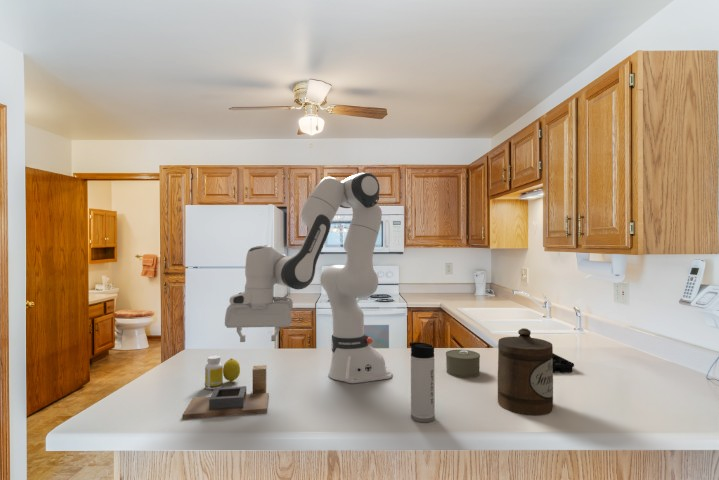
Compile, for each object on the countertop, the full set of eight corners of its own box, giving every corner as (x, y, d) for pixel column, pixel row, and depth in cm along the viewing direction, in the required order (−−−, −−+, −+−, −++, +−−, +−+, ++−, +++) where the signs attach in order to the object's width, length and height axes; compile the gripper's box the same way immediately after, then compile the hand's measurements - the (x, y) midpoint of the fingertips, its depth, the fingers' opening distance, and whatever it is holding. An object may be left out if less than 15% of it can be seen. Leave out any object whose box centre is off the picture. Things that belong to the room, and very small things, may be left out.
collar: (246, 396, 122) (246, 386, 122) (243, 408, 113) (243, 397, 113) (214, 398, 120) (214, 388, 120) (209, 410, 111) (209, 399, 112)
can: (443, 375, 144) (442, 356, 144) (448, 366, 155) (448, 348, 155) (478, 380, 140) (478, 359, 140) (481, 370, 151) (481, 351, 151)
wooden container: (549, 420, 108) (548, 336, 108) (492, 408, 115) (491, 330, 116) (556, 401, 120) (555, 326, 120) (504, 392, 128) (503, 321, 128)
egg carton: (532, 351, 177) (532, 343, 177) (588, 372, 148) (588, 362, 148) (497, 354, 173) (497, 345, 173) (547, 376, 144) (547, 366, 144)
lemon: (234, 385, 135) (234, 361, 135) (219, 384, 136) (219, 360, 136) (242, 380, 140) (242, 356, 140) (228, 379, 141) (228, 355, 141)
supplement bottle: (226, 385, 135) (226, 355, 135) (215, 391, 130) (215, 360, 130) (212, 383, 137) (212, 354, 137) (201, 389, 132) (201, 358, 132)
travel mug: (407, 413, 112) (407, 340, 112) (431, 412, 113) (430, 339, 113) (412, 423, 106) (412, 346, 106) (437, 422, 106) (437, 345, 107)
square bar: (266, 390, 130) (266, 365, 130) (265, 394, 126) (265, 368, 126) (253, 391, 130) (253, 365, 130) (252, 395, 126) (252, 369, 126)
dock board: (268, 396, 125) (268, 392, 125) (267, 412, 113) (267, 408, 113) (192, 402, 121) (192, 397, 121) (182, 419, 109) (182, 414, 109)
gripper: (292, 295, 133) (291, 338, 133) (227, 296, 130) (226, 339, 129) (292, 298, 127) (292, 342, 127) (224, 298, 123) (223, 344, 123)
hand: (258, 341), depth 128 cm, fingers open, 8 cm apart
